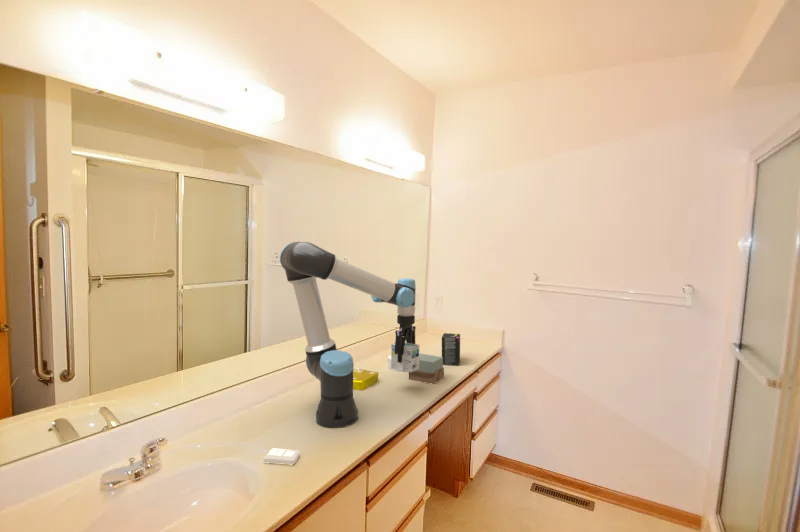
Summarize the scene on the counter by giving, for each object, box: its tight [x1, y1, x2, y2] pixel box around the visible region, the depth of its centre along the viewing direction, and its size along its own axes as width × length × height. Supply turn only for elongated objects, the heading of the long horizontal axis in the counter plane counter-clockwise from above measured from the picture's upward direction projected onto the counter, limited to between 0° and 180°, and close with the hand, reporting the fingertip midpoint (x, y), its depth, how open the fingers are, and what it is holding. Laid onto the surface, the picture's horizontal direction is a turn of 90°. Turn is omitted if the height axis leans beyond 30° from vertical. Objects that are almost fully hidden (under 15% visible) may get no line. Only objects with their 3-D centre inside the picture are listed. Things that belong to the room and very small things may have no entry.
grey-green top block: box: [418, 353, 444, 373], centre depth 190 cm, size 10×12×5 cm
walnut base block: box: [408, 367, 445, 385], centre depth 190 cm, size 11×13×5 cm
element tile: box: [353, 367, 379, 391], centre depth 184 cm, size 15×15×5 cm
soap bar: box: [262, 447, 301, 465], centre depth 118 cm, size 5×9×3 cm, turn 83°
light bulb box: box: [390, 342, 420, 373], centre depth 174 cm, size 11×7×11 cm, turn 58°
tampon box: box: [441, 332, 461, 367], centre depth 215 cm, size 11×9×15 cm
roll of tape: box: [387, 354, 406, 373], centre depth 207 cm, size 16×16×6 cm
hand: (405, 367), depth 175 cm, fingers closed on light bulb box, 7 cm apart
